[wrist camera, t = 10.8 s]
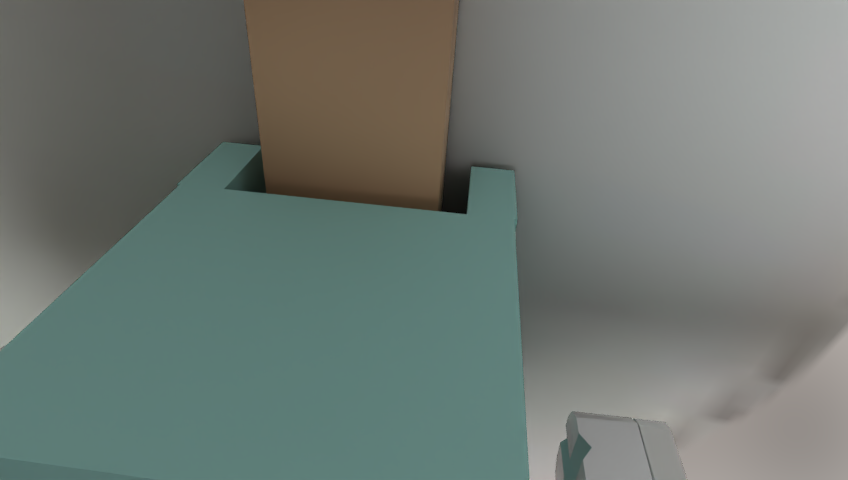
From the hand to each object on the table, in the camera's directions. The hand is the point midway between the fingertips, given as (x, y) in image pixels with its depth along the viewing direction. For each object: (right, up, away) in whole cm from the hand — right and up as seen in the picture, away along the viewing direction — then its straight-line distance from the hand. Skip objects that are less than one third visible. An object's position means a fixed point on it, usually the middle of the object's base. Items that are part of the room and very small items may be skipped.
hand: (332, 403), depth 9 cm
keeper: (0, +2, +3) cm, 3 cm away
